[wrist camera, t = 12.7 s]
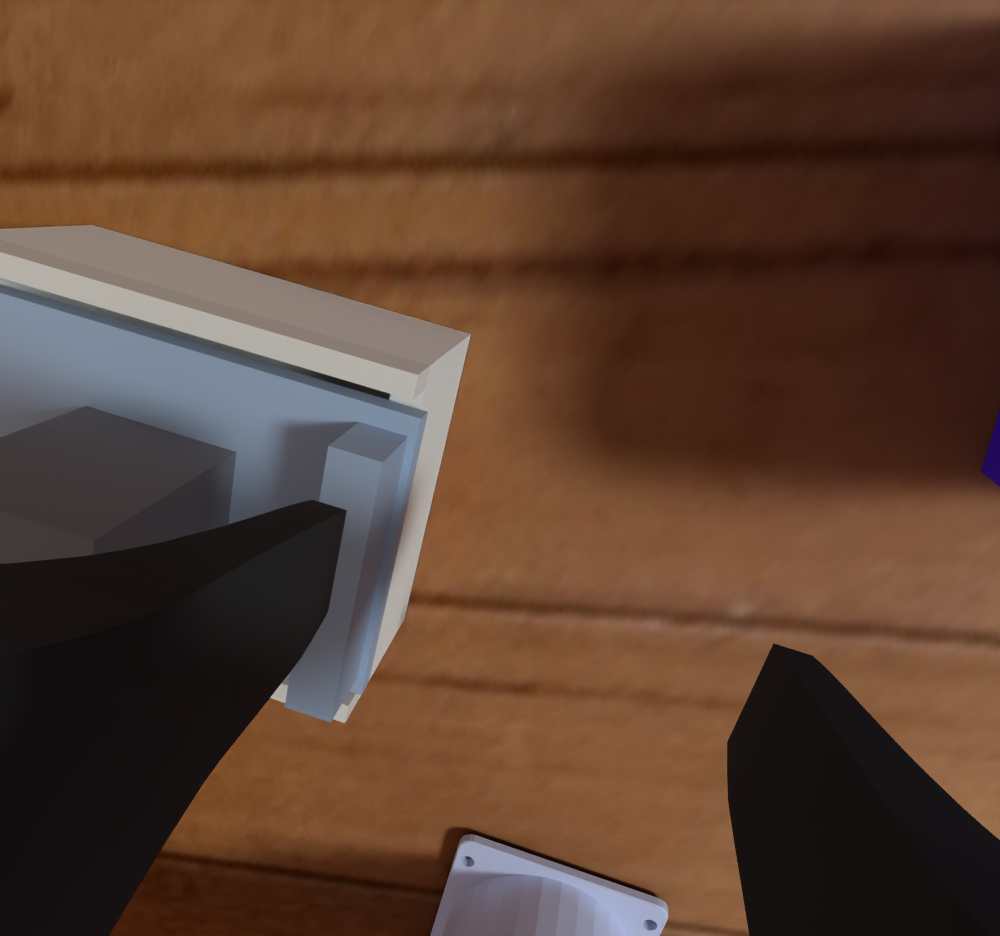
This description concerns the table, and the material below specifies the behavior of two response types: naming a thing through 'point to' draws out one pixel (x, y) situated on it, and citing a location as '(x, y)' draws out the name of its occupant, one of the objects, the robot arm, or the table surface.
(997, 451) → the bracket
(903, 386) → the table surface
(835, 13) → the table surface
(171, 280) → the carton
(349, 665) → the lid
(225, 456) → the rubber block
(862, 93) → the table surface
